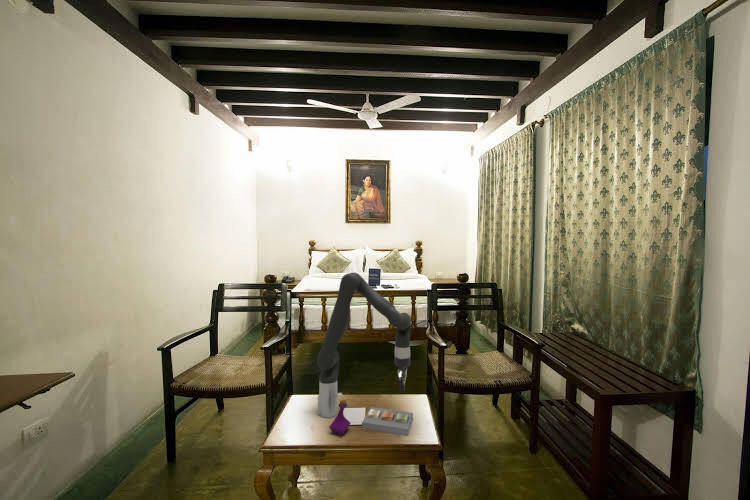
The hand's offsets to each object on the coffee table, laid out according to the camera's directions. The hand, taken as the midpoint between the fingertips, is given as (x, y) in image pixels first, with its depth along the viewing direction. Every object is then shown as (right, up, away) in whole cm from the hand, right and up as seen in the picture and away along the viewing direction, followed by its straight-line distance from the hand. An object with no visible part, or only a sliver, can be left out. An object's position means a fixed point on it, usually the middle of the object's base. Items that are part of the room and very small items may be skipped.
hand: (402, 390), depth 159 cm
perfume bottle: (-29, -17, -5) cm, 35 cm away
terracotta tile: (-7, -14, +2) cm, 16 cm away
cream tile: (-13, -14, +4) cm, 20 cm away
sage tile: (0, -15, 0) cm, 15 cm away
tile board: (-7, -17, +2) cm, 18 cm away
